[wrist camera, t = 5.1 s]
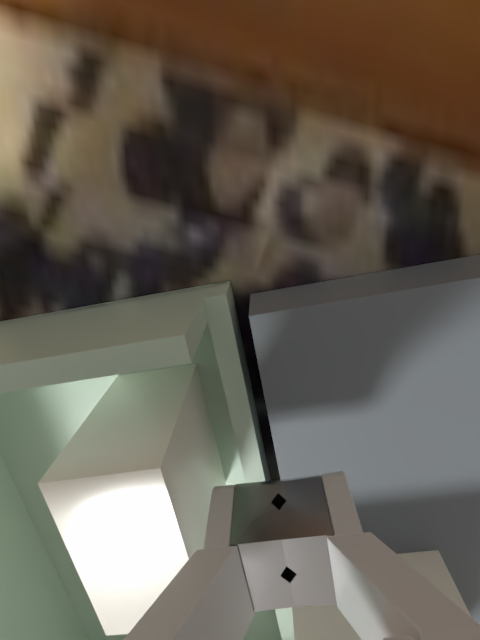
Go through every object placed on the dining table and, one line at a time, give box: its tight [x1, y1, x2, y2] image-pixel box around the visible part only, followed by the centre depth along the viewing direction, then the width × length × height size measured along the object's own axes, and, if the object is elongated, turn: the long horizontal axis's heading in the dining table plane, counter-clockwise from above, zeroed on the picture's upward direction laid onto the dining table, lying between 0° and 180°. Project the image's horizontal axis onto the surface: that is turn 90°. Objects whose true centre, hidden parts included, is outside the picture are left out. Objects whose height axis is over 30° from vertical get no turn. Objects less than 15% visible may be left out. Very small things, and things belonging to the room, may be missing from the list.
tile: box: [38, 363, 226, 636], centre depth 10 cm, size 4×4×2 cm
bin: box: [0, 281, 295, 640], centre depth 12 cm, size 10×16×5 cm, turn 11°
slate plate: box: [249, 254, 480, 625], centre depth 12 cm, size 10×15×2 cm, turn 11°
